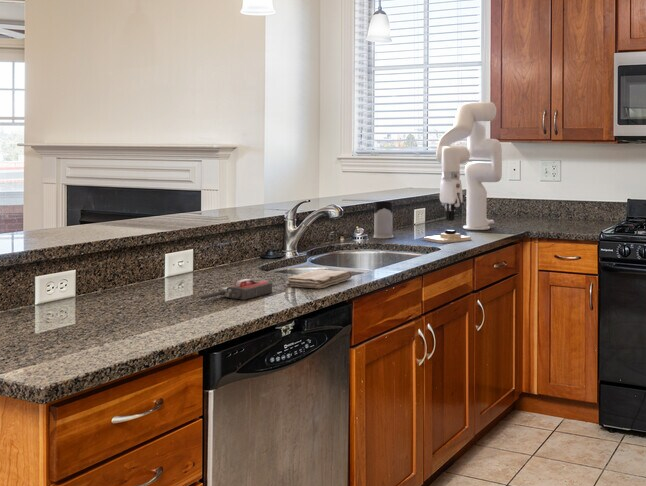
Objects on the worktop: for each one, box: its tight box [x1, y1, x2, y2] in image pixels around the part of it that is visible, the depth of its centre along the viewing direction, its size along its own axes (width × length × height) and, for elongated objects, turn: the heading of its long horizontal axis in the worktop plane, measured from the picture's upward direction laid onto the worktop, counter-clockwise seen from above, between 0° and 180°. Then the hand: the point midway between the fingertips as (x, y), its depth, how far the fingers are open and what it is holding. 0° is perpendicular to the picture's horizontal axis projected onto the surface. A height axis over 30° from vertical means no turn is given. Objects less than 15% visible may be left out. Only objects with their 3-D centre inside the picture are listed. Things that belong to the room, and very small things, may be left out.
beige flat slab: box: [423, 232, 472, 244], centre depth 311 cm, size 16×12×3 cm
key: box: [444, 229, 457, 234], centre depth 310 cm, size 3×3×2 cm
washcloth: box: [286, 269, 353, 290], centre depth 218 cm, size 12×18×3 cm, turn 157°
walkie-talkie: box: [199, 278, 273, 301], centre depth 198 cm, size 9×4×20 cm
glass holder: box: [372, 201, 394, 239], centre depth 323 cm, size 9×14×15 cm, turn 10°
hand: (450, 220), depth 309 cm, fingers closed
